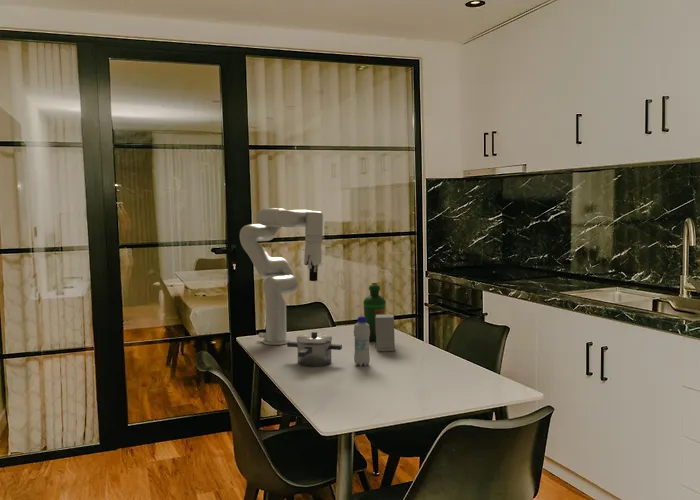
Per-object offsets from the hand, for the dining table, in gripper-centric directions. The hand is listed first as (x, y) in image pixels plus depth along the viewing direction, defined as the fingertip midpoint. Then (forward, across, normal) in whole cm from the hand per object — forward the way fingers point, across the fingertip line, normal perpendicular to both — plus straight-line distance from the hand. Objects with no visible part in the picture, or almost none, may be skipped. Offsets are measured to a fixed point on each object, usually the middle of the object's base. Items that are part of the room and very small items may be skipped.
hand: (313, 280), depth 269 cm
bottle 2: (+32, -29, +21) cm, 48 cm away
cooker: (+31, +22, +8) cm, 39 cm away
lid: (+22, +18, +7) cm, 29 cm away
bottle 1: (+31, +16, +28) cm, 44 cm away
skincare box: (+31, -11, +31) cm, 45 cm away
